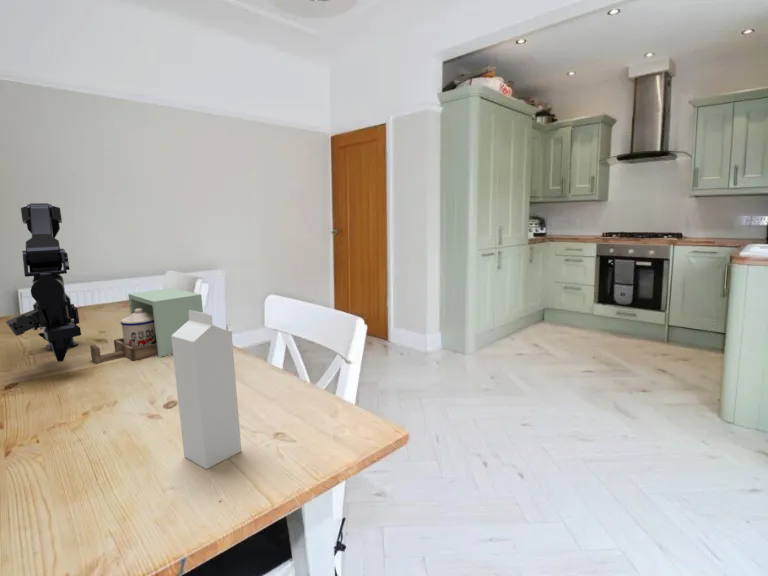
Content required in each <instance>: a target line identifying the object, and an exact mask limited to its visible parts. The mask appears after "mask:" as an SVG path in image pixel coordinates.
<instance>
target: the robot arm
mask: <svg viewBox="0 0 768 576" xmlns="http://www.w3.org/2000/svg"><path fill="white" fill-rule="evenodd" d="M20 213H21V220H22V223H23V224H24V225H26V227H27V228H26V229H27V230H28V231H29V233H30V234H31V238H29V239H27V240H26V241H25V250H22V261H23V262H22V263H23V264H22V265H23V271H24V277H25V278H28V277H33V279H32V286H31V288H30V295H31V297H32V298H33V299H34V300H35V302H34V304H33V305H32V307H33V308H32V309H31V310H30V311H27V312H24V313H21V314H20V315H16V316H15V317H13V318H10V319H8V320H7V321H5V323H6V325H7V326H8V327H9V329H10V330H11V331H12V333H13V334H14V335H15V336H21V335H23V334H25V332H27V331H30V330H32V331H38V329H39V330H41V332H40V333H38V334H37V335H38V336H40V337H41V338H42V339H43V340H45V341H46V342H47V343H48V344H46V345H45V347H46V348H47V349H48V350H49V351H51V352H53V355H54V357H55V359H56V361H57V362H58V363H60V362H63V361H64V360H65V358H66V355H67V352H68V349H69V348H71V347H77V346H79V343H77V342H76V341H74V338H75V337H80V336H82V331H81V327H80V326H78V324H80V317H79V310H78V309H79V308H77V307H76V306H75V304H74V303H72V302H71V298H70V296H69V295H68V294H67V293H66V290H65V284H64V283H65V282H64V278H63V276H62V275H63V274H68V272H67V271H70V264H69V262H70V261H69V257H68V256H69V254H68V253H67V252H66V249H64V248H60V242H59V240H58V239H57V238H56V237H57V235H58V233H59V231H60V229H61V227H60V224H62V223H63V219H62V218H63V217H62V213H61V207H58V206H55V205H52V203H51V204H49V203H47V202H45V203H43V202H41V203H40V202H39V203H33V202H31V203H29V204H26V206H23V207H20Z"/></svg>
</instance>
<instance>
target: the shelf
mask: <svg viewBox="0 0 768 576" xmlns="http://www.w3.org/2000/svg"><path fill="white" fill-rule="evenodd" d="M127 295H128V304H129V312H130V315H131V314H133V313H135V309H143V312H147V313H149V314H153V315H154V324H155V332H156V341H157V350H158V355H157V356H158V357H159V358H163V357H166V355H167V356H170V355H169V354H171V355H173V347H172V338H171V336H172V335H173V334H174V333H175V332H176V331H177V330H178V329H180V328H181V327H182V326H183V325H184V324H185V323H186V322H188V321H189V310H192V311H196V312H201V313H204V310H203V309H204V308H203V297H202V296H203V295H202V294H201V293H197V292H193V291H189V290H183V289H179V288H175V287H171V288H163V289H162V288H161V289H155V290H149V291H141V292H133V293H127ZM162 356H163V357H162Z"/></svg>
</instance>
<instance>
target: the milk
mask: <svg viewBox="0 0 768 576" xmlns="http://www.w3.org/2000/svg"><path fill="white" fill-rule="evenodd" d="M232 334H233V333H232V331H229V330H227V329H225V328H221V327H219V326H217V325H213V316H212V314H210V313H206V312H203V313H201V312H196V311H192V310H189V321H188V322H186V323H185V324H184V325H183V326H182V327H181V328H180V329H178V330H177V331H176V332H175V333H174V334H173V335H172V336H171V338H172V347H173V354H172V356H173V364H174V372H175V373H174V374H175V382H176V384H175V385H176V392H177V401H178V410H179V411H178V412H179V420H180V421H179V422H180V428H181V429H180V430H181V440H182V448H183V456H184V458H186V459H188V460H189V461H191V462H193V463H195V464H196V465H198V466H199V467H201V468H203V469H205V470H208V469H210V468H212V467H213V466H215V465H217V464H219V463H221V462H223V461H225V460H227V459H229V458H231V457H233V456H235V455H237V454H239V453H240V452H242V442H241V431H240V419H239V418H240V417H239V404H238V394H237V393H238V392H237V384H236V383H237V381H236V370H235V358H234V348H233V347H234V345H233V336H232Z"/></svg>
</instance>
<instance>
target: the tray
mask: <svg viewBox="0 0 768 576" xmlns="http://www.w3.org/2000/svg"><path fill="white" fill-rule="evenodd" d="M113 344H114V351H115V352H114V351H113V352H110V353H105V354H101V348H100V347H99V346H98V345H96V344H90V345H89V349H90V355H91V356H90V357H91V361H92V362H94V363H96V364H97V365H98V364H102V363H103V362H108V361H112V360H116V359H121V358H125V357H126V358H127V359H129V360H131V361H132V362H135V361H139V360H143V359H146V358H147V359H148V358H151V356H152V357H156V356H158V350H157V343H156V344H151V345H147V346H142V347H137V348H132V347H131V346H129V345H127V344H125V343H124V338H123V337H121V338H117V339H113ZM155 355H156V356H155Z"/></svg>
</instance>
